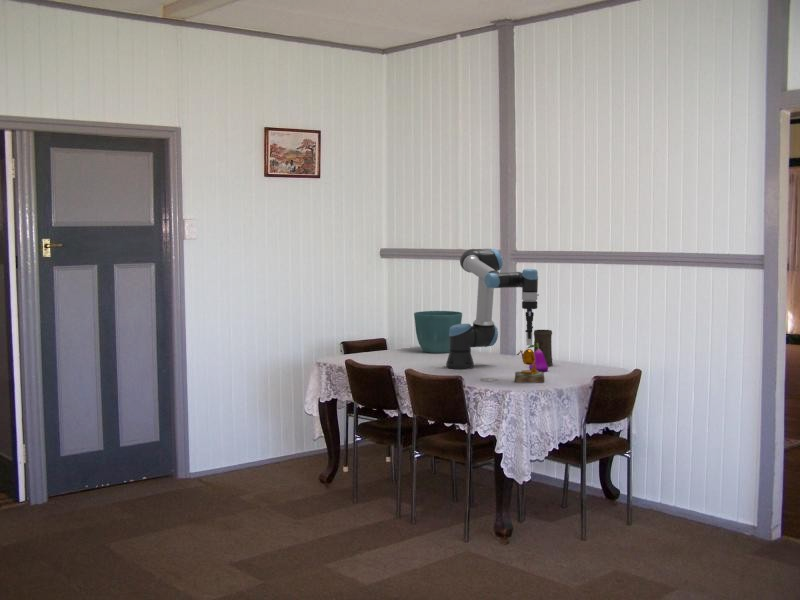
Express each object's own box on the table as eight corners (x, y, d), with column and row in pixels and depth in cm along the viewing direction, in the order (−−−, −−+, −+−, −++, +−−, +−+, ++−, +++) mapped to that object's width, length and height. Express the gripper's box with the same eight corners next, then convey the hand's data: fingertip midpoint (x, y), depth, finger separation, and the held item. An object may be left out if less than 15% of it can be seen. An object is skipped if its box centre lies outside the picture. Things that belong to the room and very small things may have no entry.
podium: (515, 382, 439) (515, 375, 438) (515, 377, 453) (515, 371, 452) (544, 382, 437) (544, 375, 437) (543, 378, 451) (543, 371, 450)
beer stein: (552, 367, 488) (552, 330, 488) (532, 366, 490) (532, 330, 490) (553, 365, 503) (553, 329, 503) (533, 364, 505) (534, 329, 505)
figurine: (515, 373, 446) (515, 349, 445) (530, 370, 453) (530, 347, 452) (528, 375, 439) (528, 350, 438) (543, 372, 446) (543, 348, 445)
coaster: (479, 382, 442) (479, 380, 442) (480, 379, 450) (480, 377, 450) (497, 382, 440) (497, 380, 440) (498, 379, 449) (498, 378, 449)
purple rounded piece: (545, 369, 482) (545, 341, 481) (552, 372, 471) (552, 343, 470) (524, 369, 480) (525, 341, 479) (531, 372, 469) (531, 344, 468)
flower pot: (464, 354, 544) (464, 314, 542) (415, 354, 544) (414, 315, 542) (460, 348, 574) (460, 310, 572) (413, 348, 573) (413, 311, 572)
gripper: (537, 303, 429) (537, 347, 431) (536, 298, 454) (536, 340, 456) (522, 302, 430) (521, 346, 432) (521, 298, 455) (521, 340, 457)
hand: (529, 343), depth 444 cm, fingers open, 13 cm apart
